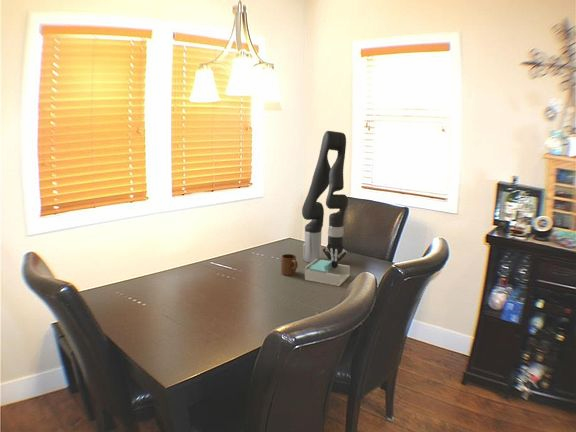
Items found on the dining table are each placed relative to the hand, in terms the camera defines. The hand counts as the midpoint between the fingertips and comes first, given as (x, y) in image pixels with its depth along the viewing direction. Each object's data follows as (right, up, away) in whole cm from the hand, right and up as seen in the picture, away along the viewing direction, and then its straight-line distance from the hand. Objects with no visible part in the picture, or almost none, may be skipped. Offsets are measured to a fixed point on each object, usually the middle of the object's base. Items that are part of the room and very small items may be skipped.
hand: (334, 267), depth 223 cm
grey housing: (-3, -5, +3) cm, 7 cm away
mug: (-22, -5, +6) cm, 23 cm away
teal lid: (-6, 0, +3) cm, 6 cm away
